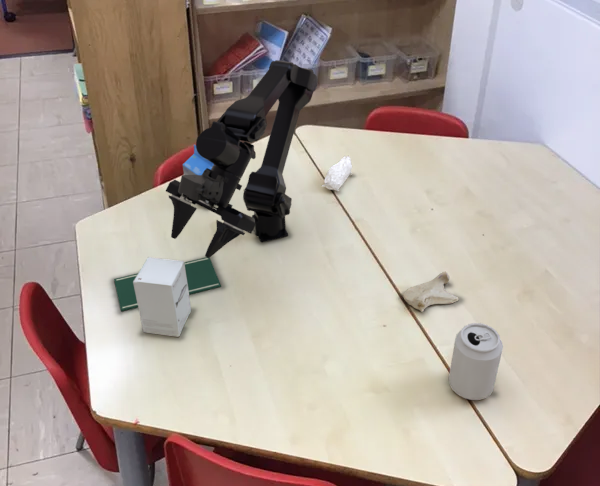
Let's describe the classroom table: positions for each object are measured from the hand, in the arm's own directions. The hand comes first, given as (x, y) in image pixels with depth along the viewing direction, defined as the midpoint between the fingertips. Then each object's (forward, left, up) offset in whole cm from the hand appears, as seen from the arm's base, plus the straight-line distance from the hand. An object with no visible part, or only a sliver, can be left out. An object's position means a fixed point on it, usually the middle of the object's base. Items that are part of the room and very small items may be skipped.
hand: (189, 247), depth 124 cm
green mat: (+5, -7, -13) cm, 16 cm away
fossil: (-43, +16, -13) cm, 48 cm away
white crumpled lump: (-29, -26, -11) cm, 40 cm away
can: (-38, +38, -13) cm, 56 cm away
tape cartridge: (-9, -35, -13) cm, 39 cm away
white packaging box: (+7, +4, -13) cm, 15 cm away
